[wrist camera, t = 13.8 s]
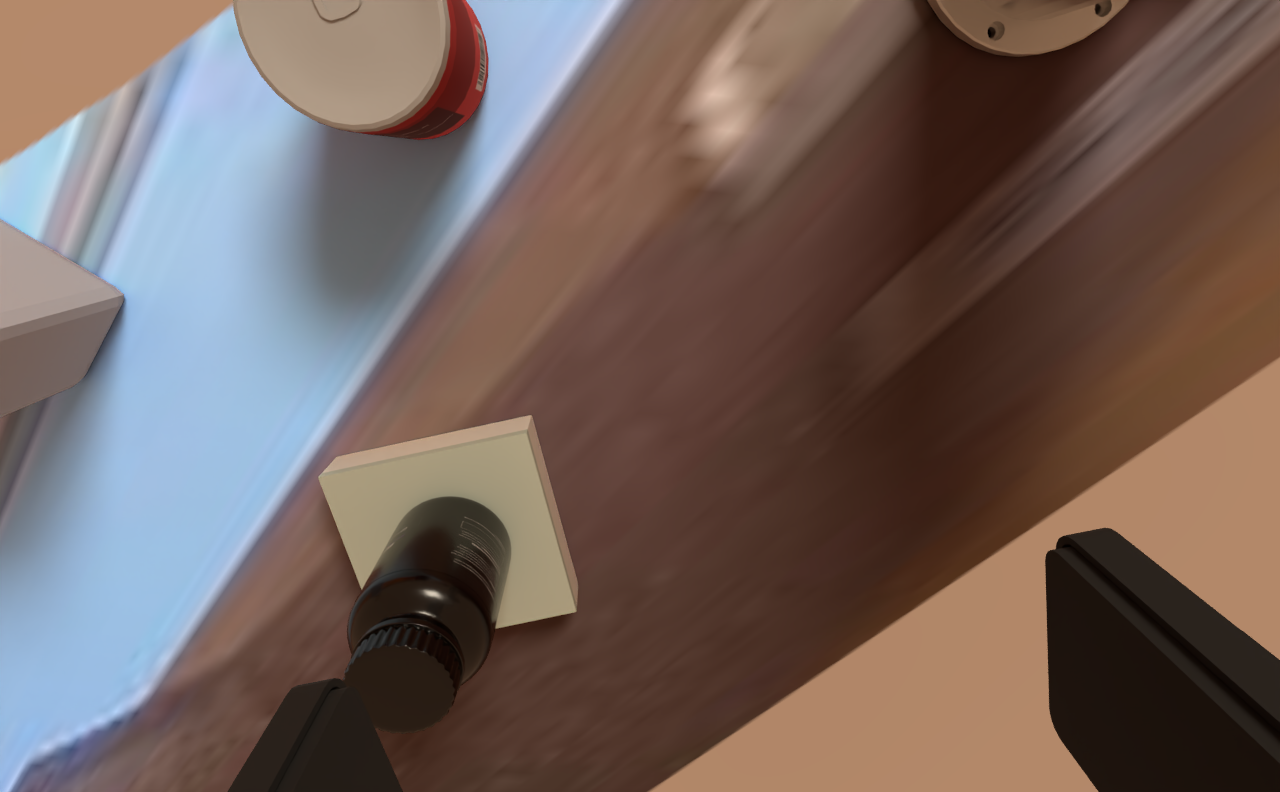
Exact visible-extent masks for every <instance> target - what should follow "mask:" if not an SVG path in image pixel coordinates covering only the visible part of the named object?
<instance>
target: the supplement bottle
mask: <svg viewBox="0 0 1280 792" xmlns="http://www.w3.org/2000/svg"><path fill="white" fill-rule="evenodd" d="M510 561H511V542H510V538H509V534H508V532H507V530H506V528H505V526H504V524H503V523H502V521H501V520H500V519H499V518H498V516H497V515H496V514H495V513H493V512H492V511H491V510H490V509H488V508H487V507H485V506H484V505H482V504H480V503H478V502H476V501H474V500H471V499H467V498H463V497H456V496H444V497H437V498H433V499H430V500H427V501H424V502H422V503H420V504H418V505H417V506H415V507H414V508H412V509H411V510H410V511H409V512H408V513H407V514H406V515H405V516H404V517H403V518H402V520H401V521H400V522H399V524H398V526H397V528H396V529H395V531H394V532H393V534H392V536H391V538H390V540H389V541H388V543H387V545H386V547H385V549H384V550H383V552H382V554H381V556H380V558H379V559H378V561H377V563H376V565H375V567H374V568H373V570H372V572H371V574H370V576H369V578H368V579H367V581H366V583H365V585H364V587H363V588H362V590H361V592H360V594H359V596H358V597H357V599H356V601H355V603H354V605H353V608H352V610H351V612H350V615H349V619H348V625H347V639H348V644H349V648H350V651H351V654H352V656H351V660H350V662H349V664H348V666H347V668H346V670H345V676H344V678H343V682H344V683H345V685H346V686H347V687H354V688H356V689H357V690H358V692H359V694H360V696H361V698H362V700H363V703H364V705H365V707H366V710H367V712H368V714H369V716H370V719H371V721H372V723H373V725H374V728H378V729H379V730H381V731H388V732H391V733H401V734H405V733H415V732H417V731H424V730H425V729H426V728H428V727H432V726H434V725H435V723H437V722H439V721H441V720H442V718H443V717H444V716H445V715H447V714H448V712H449V709H450V708H451V707H452V705H453V703H454V700H455V697H456V694H457V691H458V689H459V688H460V686H461V685H463V684H464V683H466V682H467V681H468V680H469V679H471V678H472V677H473V676H474V675H475V674H476V673H477V672H478V671H479V669H480V668H481V667H482V665H483V664H484V662H485V660H486V658H487V656H488V653H489V651H490V647H491V644H492V640H493V636H494V632H495V628H496V623H497V619H498V615H499V610H500V606H501V601H502V597H503V593H504V588H505V584H506V580H507V575H508V571H509V566H510Z"/></svg>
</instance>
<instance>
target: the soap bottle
mask: <svg viewBox="0 0 1280 792" xmlns="http://www.w3.org/2000/svg"><path fill="white" fill-rule="evenodd" d="M123 300H124V294H123V293H122V292H121V291H119V290H118V289H117V288H116V287H115V286H113V285H111V284H110V283H108V282H106V281H104V280H103V279H101V278H99V277H98V276H96V275H94V274H93V273H91V272H89V271H88V270H86V269H84V268H82V267H81V266H79V265H77V264H76V263H74V262H72V261H71V260H69V259H67V258H65V257H64V256H62V255H60V254H59V253H57V252H55V251H54V250H52V249H50V248H49V247H47V246H45V245H43V244H42V243H40V242H38V241H37V240H35V239H33V238H32V237H30V236H28V235H27V234H25V233H23V232H21V231H20V230H18V229H16V228H15V227H13V226H11V225H10V224H8V223H6V222H4V221H3V220H1V219H0V417H3V416H5V415H7V414H10V413H12V412H15V411H17V410H19V409H22V408H24V407H26V406H29V405H31V404H33V403H36V402H38V401H41V400H43V399H45V398H48V397H50V396H52V395H55V394H57V393H60V392H62V391H64V390H67V389H69V388H71V387H73V386H74V385H76V384H77V383H78V382H80V381H81V380H82V379H83V378H84V377H85V375H86V373H87V371H88V369H89V367H90V365H91V364H92V362H93V360H94V358H95V356H96V354H97V352H98V350H99V348H100V346H101V344H102V342H103V340H104V338H105V336H106V334H107V332H108V330H109V329H110V327H111V325H112V323H113V321H114V319H115V317H116V315H117V313H118V311H119V309H120V307H121V305H122V303H123Z"/></svg>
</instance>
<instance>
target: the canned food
mask: <svg viewBox="0 0 1280 792" xmlns="http://www.w3.org/2000/svg"><path fill="white" fill-rule="evenodd" d="M233 7H234V14H235V18H236V22H237V26H238V30H239V34H240V37H241V39H242V41H243V44H244V46H245V48H246V51H247V53H248V55H249V57H250V59H251V61H252V62H253V64H254V65H255V67H256V69H257V70H258V72H259V73H260V75H261V77H262V78H263V79H264V80H265V81H266V82H267V84H268V85H269V86H270V87H271V88H272V89H273V90H274V92H275V93H276V94H277V95H278V96H279V97H281V98H282V99H283V100H284V101H285V102H287V103H288V104H289V105H290V106H292V107H293V108H294V109H295V110H297V111H299V112H301V113H302V114H304V115H306V116H308V117H309V118H311V119H313V120H315V121H317V122H319V123H322V124H324V125H327V126H330V127H333V128H336V129H339V130H345V131H349V132H356V133H363V134H371V135H380V136H389V137H399V138H408V139H417V140H421V139H433V138H437V137H440V136H443V135H447V134H449V133H450V132H452V131H454V130H456V129H457V128H459V127H460V126H461V125H462V124H463V123H465V122H466V121H467V120H468V119H469V118H470V117H471V115H472V114H473V112H474V111H475V110H476V108H477V107H478V105H479V103H480V101H481V98H482V96H483V94H484V91H485V87H486V82H487V77H488V53H487V46H486V41H485V38H484V34H483V31H482V28H481V25H480V23H479V21H478V19H477V17H476V15H475V14H474V12H473V10H472V8H471V7H470V6H469V4H468V3H467V2H466V0H233Z"/></svg>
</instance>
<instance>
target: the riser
mask: <svg viewBox="0 0 1280 792" xmlns="http://www.w3.org/2000/svg"><path fill="white" fill-rule="evenodd" d="M318 479H319V481H320V484H321V486H322V489H323V492H324V494H325V497H326V499H327V502H328V504H329V507H330V510H331V512H332V515H333V517H334V520H335V522H336V525H337V528H338V530H339V533H340V535H341V538H342V540H343V543H344V546H345V548H346V551H347V553H348V556H349V558H350V561H351V564H352V566H353V569H354V571H355V574H356V576H357V579H358V582H359V584H360V587H361V589H362V588H363V587H364V585H365V583H366V581H367V579H368V578H369V576H370V574H371V572H372V570H373V568H374V567H375V565H376V563H377V561H378V559H379V558H380V556H381V554H382V552H383V550H384V549H385V547H386V545H387V543H388V541H389V540H390V538H391V536H392V534H393V532H394V531H395V529H396V528H397V526H398V524H399V522H400V521H401V520H402V518H403V517H404V516H405V515H406V514H407V513H408V512H409V511H410V510H411V509H412V508H414V507H415V506H417V505H418V504H420V503H422V502H424V501H427V500H430V499H433V498H437V497H444V496H456V497H463V498H467V499H471V500H474V501H476V502H478V503H480V504H482V505H484V506H485V507H487V508H488V509H490V510H491V511H492V512H493V513H495V514H496V515H497V516H498V518H499V519H500V520H501V521H502V523H503V524H504V526H505V528H506V530H507V532H508V534H509V538H510V542H511V561H510V566H509V571H508V575H507V580H506V584H505V588H504V593H503V597H502V601H501V606H500V610H499V615H498V619H497V623H496V628H495V629H497V628H501V627H506V626H511V625H516V624H521V623H525V622H530V621H535V620H540V619H544V618H549V617H554V616H559V615H564V614H568V613H573V612H577V595H578V582H577V578H576V575H575V571H574V567H573V564H572V560H571V556H570V553H569V549H568V546H567V542H566V538H565V535H564V531H563V527H562V524H561V520H560V516H559V513H558V509H557V505H556V502H555V498H554V494H553V491H552V487H551V484H550V480H549V476H548V473H547V469H546V465H545V462H544V458H543V454H542V451H541V447H540V443H539V440H538V436H537V433H536V429H535V425H534V422H533V418H532V415H529V416H524V417H520V418H515V419H510V420H506V421H501V422H496V423H492V424H487V425H482V426H478V427H473V428H468V429H464V430H459V431H454V432H450V433H445V434H440V435H436V436H431V437H426V438H422V439H417V440H412V441H408V442H403V443H398V444H394V445H389V446H384V447H380V448H375V449H370V450H366V451H361V452H356V453H352V454H347V455H342V456H338V457H336V458H335V459H334V461H333V462H332V463H331V464H330V465H329V466H328V467H327V468H326V469H325V470H324V472H323V473H322V474H321V475H320V476H319V477H318Z"/></svg>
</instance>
